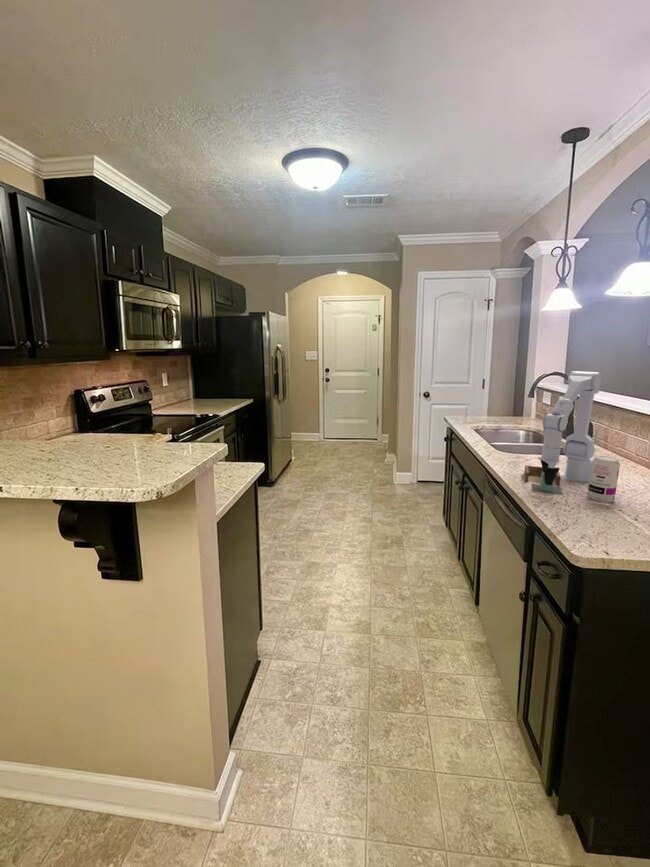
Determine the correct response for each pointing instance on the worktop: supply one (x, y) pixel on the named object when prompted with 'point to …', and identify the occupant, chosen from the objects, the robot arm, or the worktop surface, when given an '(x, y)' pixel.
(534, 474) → the walnut box
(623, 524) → the worktop surface
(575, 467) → the robot arm
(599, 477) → the supplement can
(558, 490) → the slate mat
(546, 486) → the block
